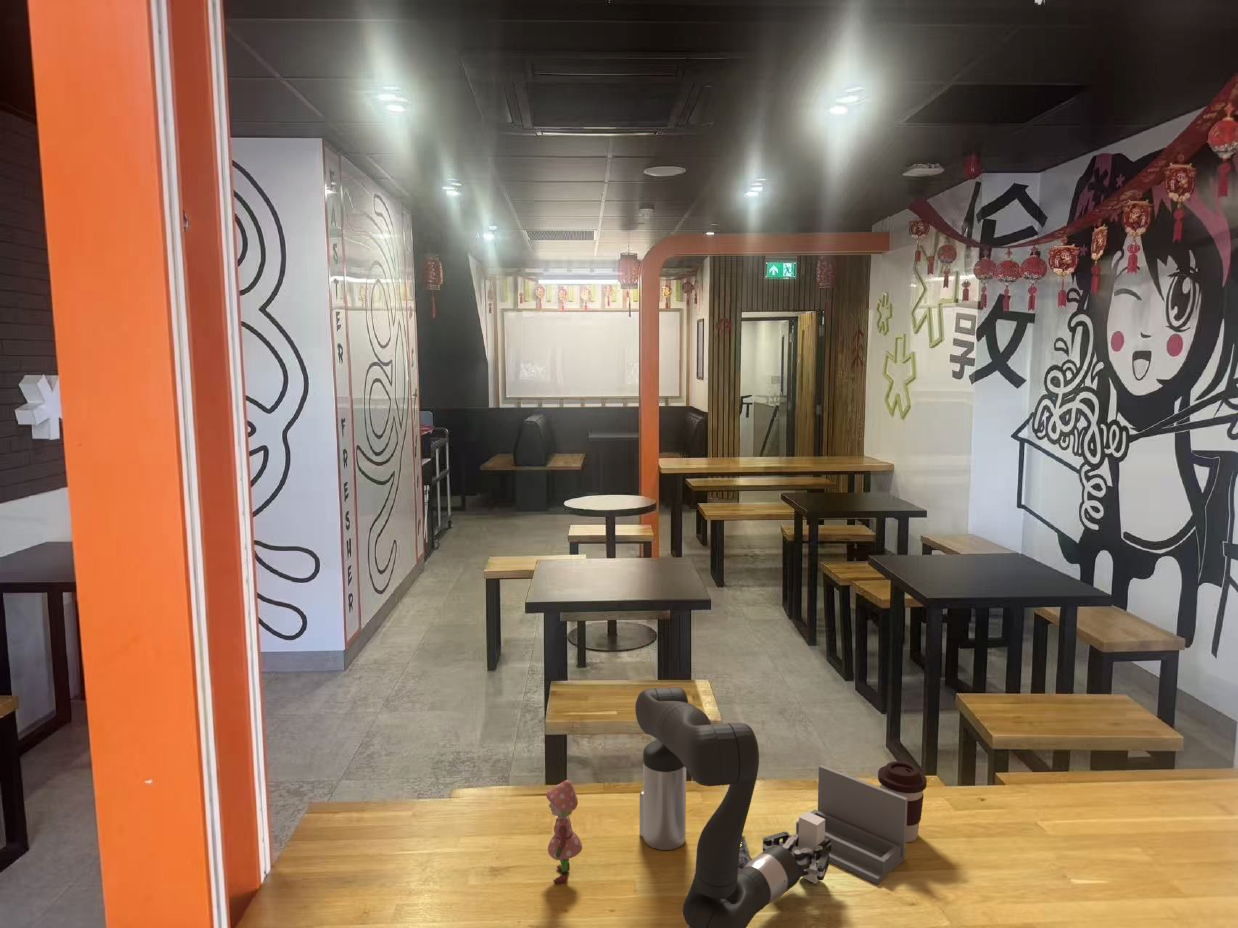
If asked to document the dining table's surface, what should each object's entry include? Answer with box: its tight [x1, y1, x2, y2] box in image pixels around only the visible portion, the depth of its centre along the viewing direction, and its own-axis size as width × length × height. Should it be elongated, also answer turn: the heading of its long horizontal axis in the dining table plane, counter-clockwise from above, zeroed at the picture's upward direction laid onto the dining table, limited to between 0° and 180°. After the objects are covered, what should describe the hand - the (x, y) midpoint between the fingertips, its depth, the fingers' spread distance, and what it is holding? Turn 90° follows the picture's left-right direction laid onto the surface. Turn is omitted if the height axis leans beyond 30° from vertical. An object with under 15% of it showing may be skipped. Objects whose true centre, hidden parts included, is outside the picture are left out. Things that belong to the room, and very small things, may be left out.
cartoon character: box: [546, 779, 583, 884], centre depth 154 cm, size 10×7×20 cm
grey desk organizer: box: [795, 764, 908, 886], centre depth 163 cm, size 20×12×13 cm, turn 45°
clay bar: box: [798, 811, 825, 884], centre depth 154 cm, size 4×3×12 cm
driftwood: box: [738, 835, 753, 871], centre depth 163 cm, size 21×7×2 cm, turn 1°
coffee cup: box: [877, 761, 928, 843], centre depth 170 cm, size 10×10×15 cm
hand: (818, 838), depth 156 cm, fingers closed on clay bar, 4 cm apart
